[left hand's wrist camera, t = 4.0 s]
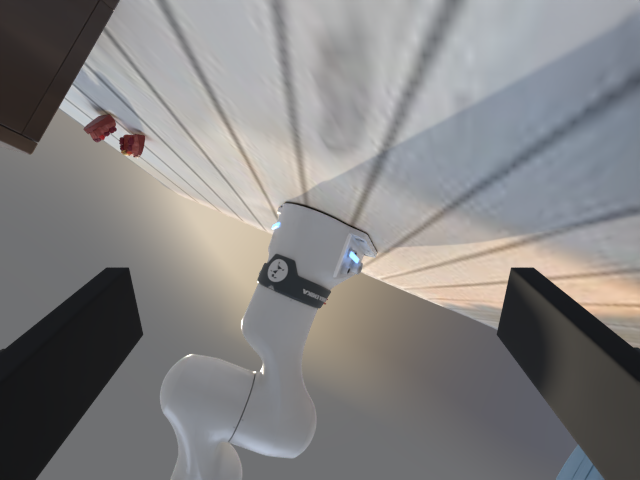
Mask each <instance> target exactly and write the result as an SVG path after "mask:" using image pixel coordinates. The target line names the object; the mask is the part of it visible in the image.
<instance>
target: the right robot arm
mask: <svg viewBox="0 0 640 480" xmlns="http://www.w3.org/2000/svg"><path fill="white" fill-rule="evenodd" d="M277 213H278V214H279V218H278V221H277V223H276V224H274V225H273V227H272V229H275V230H274V233H273V236H272V239H271V242H270V245H269V248H268V252H269V259H268V262H267V263H265V264H264V265H263V268H262V270H261V271H260V273H259V274H260V275H259V277H258V280H257V281H258V286H257V288H256V290H255V292H254V295H253V297H252V299H251V301H250V304H249V306H248V308H247V310H246V313H245V315H244V317H243V319H242V332H243V335H244V337H245V339H246V340H247V342H248V343H249V345H250V346H251V347H252V348H253V349H254V351H255V352H256V353H257V354H258V355H259V356H260V357H261V359H262V361H263V366H262V369H261V371H260V372H253V371H250V370H248V369H245V368H242V367H240V366H237V365H235V364H232V363H229V362H227V361H224V360H221V359H219V358H213V357H208V356H201V355H194V354H191V355H188V356H186V357H184V358H182V359H181V360H179V361H178V362H177V363H176V364H175V365H174V366H173V367H172V368H171V369H170V370H169V372H168V373H167V375H166V376H165V378H164V381H163V384H162V387H161V392H160V403H161V408H162V411H163V413H164V415H165V416H166V417H167V419H168V420H169V422H170V423H171V425H172V427H173V429H174V431H175V434H176V437H177V441H178V448H179V449H178V450H179V451H178V459H177V463H176V465H175V469H174V471H173V474H172V477H171V479H170V480H242V466H241V462H240V459H239V456H238V454H237V452H236V451H235V449H234V448H233V447H232V445H231V444H234V445H237V446H240V447H243V448H246V449H248V450H251V451H254V452H257V453H260V454H263V455H266V456H274V457H283V458H295V457H297V456H298V455H299V454H301V453H302V452H303V451H304V450H305V449H306V448H307V446H308V445H309V444H310V442H311V440H312V438H313V435H314V432H315V429H316V411H315V407H314V404H313V402H312V400H311V398H310V396H309V394H308V392H307V390H306V387H305V384H304V381H303V376H302V354H303V349H304V345H305V342H306V339H307V336H308V333H309V330H310V327H311V325H312V322H313V319H314V317H315V314H316V312H317V310H318V308H321V307H322V305H323V304H326V303H324V302H326V300H328V299H327V298H328V296H329V294H330V293H331V291H330V290H331V289H332V288H333V287H334V286H336V285H338V284H339V283H341V282H343V281H344V280H346V279H348V278H350V277H352V276H354V275H355V274H359V273H360V272H361V270H362V266H363V263H362V262H361V261H362V258H363V256H364V255H365V256H369V257H376V255H377V251H376V250H375V248H374V246H373V244H372V242H371V240H370V238H369V236H368V235H367V234H365V233H363V232H361V231H359V230H356V229H354V228H352V227H350V226H347V225H346V224H344V223H342V222H340V221H338V220H336V219H334V218H332V217H330V216H327V215H325V214H323V213H320V212H318V211H315V210H312V209H309V208H306V207H303V206H300V205H295V204H290V203H285V204H283V206H282V207H280V208H278V211H277ZM230 443H231V444H230Z"/></svg>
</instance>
